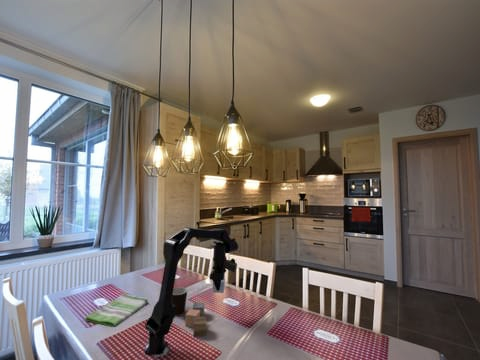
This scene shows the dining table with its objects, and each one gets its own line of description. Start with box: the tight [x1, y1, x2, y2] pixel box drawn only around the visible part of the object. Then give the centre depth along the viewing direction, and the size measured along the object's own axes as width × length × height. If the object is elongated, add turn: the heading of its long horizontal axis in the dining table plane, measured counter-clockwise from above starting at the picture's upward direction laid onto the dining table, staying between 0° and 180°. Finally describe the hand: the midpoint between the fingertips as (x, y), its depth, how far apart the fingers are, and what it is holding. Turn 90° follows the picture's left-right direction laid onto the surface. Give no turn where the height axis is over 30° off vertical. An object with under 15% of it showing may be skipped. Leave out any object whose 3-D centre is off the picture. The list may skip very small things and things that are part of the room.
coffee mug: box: [172, 286, 188, 316], centre depth 114 cm, size 12×9×10 cm
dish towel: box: [84, 293, 149, 327], centre depth 112 cm, size 17×23×4 cm
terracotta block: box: [184, 308, 200, 328], centre depth 102 cm, size 5×5×5 cm
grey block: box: [192, 301, 205, 317], centre depth 109 cm, size 5×5×5 cm
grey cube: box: [212, 277, 226, 294], centre depth 109 cm, size 5×5×5 cm
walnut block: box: [192, 316, 207, 337], centre depth 96 cm, size 5×5×5 cm
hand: (218, 288), depth 109 cm, fingers closed on grey cube, 5 cm apart
